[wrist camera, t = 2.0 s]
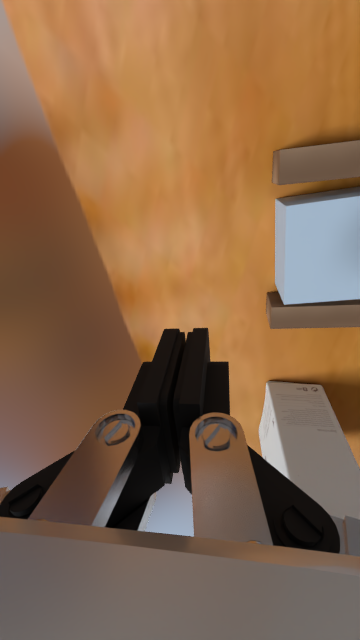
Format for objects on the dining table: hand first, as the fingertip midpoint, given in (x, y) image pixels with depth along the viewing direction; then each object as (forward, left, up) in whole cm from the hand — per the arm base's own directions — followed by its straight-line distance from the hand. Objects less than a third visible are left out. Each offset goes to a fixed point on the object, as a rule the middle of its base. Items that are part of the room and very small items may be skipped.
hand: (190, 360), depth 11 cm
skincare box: (+19, +8, -16) cm, 26 cm away
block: (0, +9, -16) cm, 18 cm away
